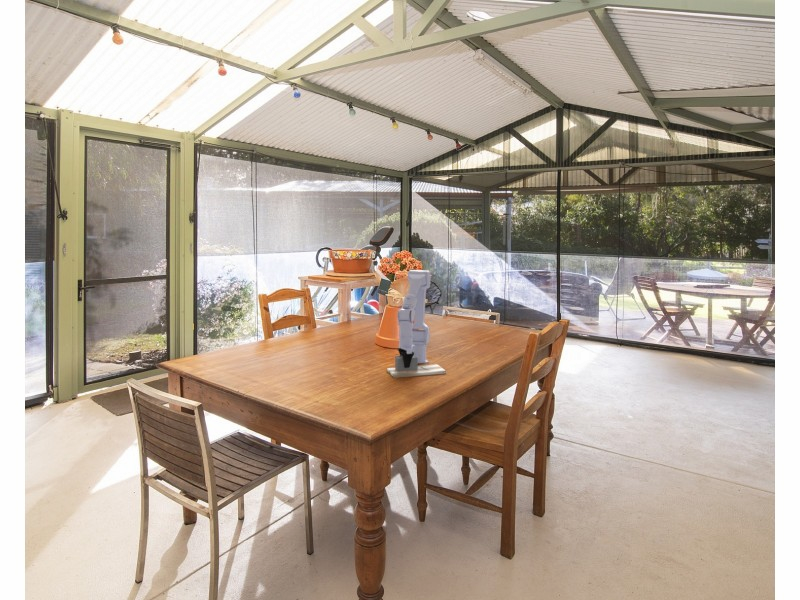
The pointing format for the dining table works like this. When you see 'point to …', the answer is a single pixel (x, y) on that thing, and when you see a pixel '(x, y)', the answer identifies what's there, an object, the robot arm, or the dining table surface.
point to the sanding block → (400, 364)
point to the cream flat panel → (421, 371)
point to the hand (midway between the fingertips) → (405, 365)
